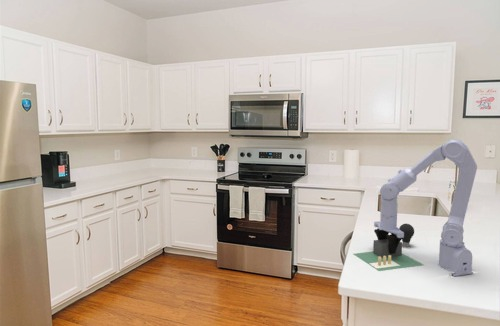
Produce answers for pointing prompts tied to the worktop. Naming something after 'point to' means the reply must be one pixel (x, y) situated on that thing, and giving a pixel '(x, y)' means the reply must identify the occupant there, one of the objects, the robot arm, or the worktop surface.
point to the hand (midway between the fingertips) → (387, 250)
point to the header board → (387, 261)
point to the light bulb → (407, 234)
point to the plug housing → (385, 248)
